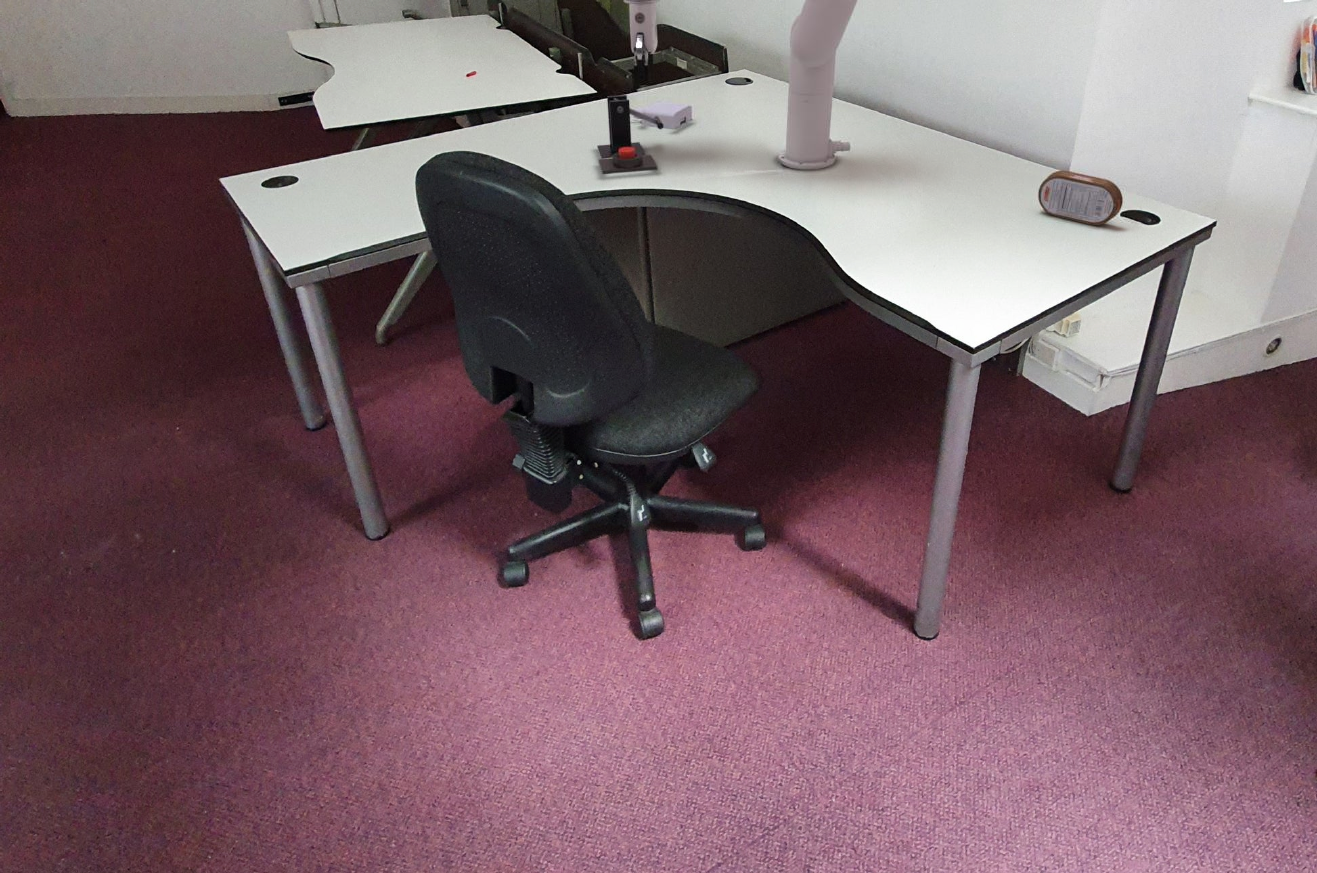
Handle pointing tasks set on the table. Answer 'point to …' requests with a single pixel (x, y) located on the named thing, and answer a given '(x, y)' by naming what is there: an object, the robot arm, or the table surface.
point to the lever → (646, 117)
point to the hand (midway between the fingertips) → (644, 78)
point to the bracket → (618, 127)
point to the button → (627, 152)
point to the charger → (667, 114)
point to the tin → (1080, 197)
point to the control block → (627, 164)
